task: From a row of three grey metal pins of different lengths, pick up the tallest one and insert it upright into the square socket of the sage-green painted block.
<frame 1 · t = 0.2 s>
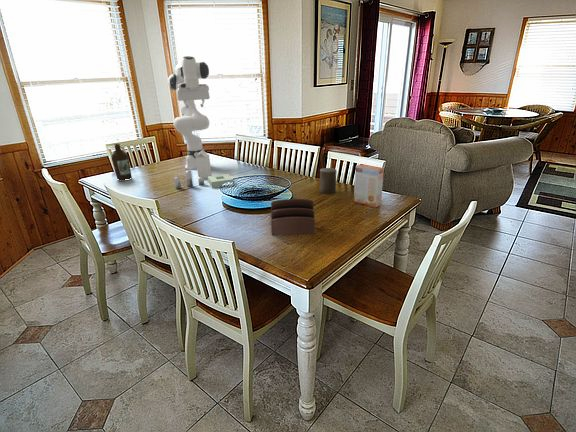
hand: (194, 107, 221), 47 cm above the table, fingers open, 8 cm apart
milk carton: (205, 177, 241), on the table
pillar candle: (327, 192, 207), on the table
socket block: (220, 183, 226), on the table
medium pin: (178, 187, 220), on the table
olive oil: (124, 179, 240), on the table
letter holder: (293, 230, 158), on the table
short pin: (201, 184, 225), on the table
cracker box: (367, 204, 187), on the table
tall pin: (190, 186, 222), on the table
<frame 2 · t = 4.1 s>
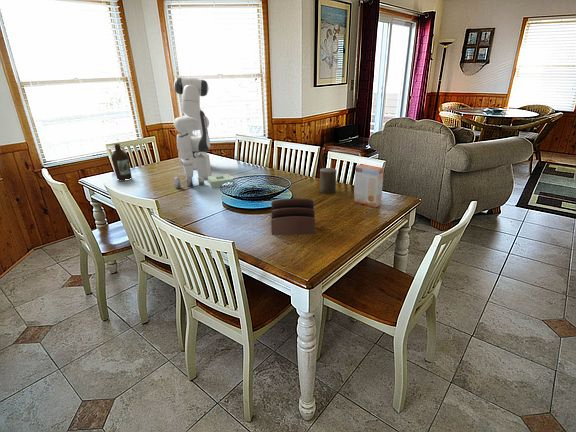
hand: (189, 180, 220), 4 cm above the table, fingers closed on tall pin, 4 cm apart
tall pin: (190, 186, 222), on the table, touching gripper
everything else where it was.
when the fingers open (6 cm above the table, at t = 9.6 s): tall pin drops 1 cm, resting in socket block.
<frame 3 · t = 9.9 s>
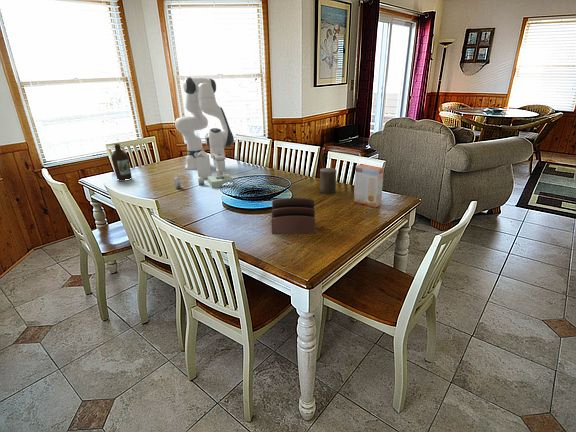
hand: (219, 175, 224), 6 cm above the table, fingers open, 6 cm apart
tall pin: (220, 183, 226), resting in socket block
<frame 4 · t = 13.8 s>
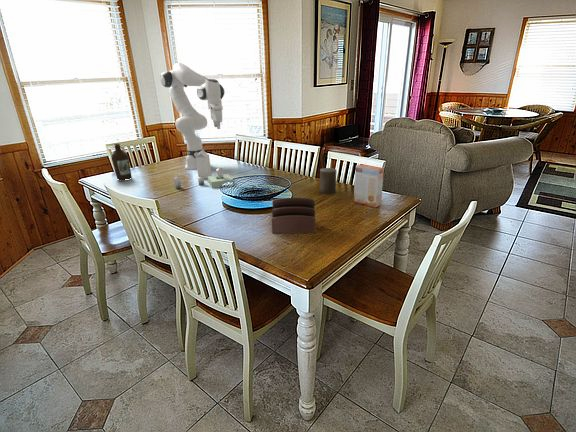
hand: (217, 127, 226), 34 cm above the table, fingers open, 8 cm apart
at the end: tall pin 0.1 cm off-centre on the socket block, point 0.0 cm above the socket block's base; tall pin tilted 0°; the gripper is holding nothing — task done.
